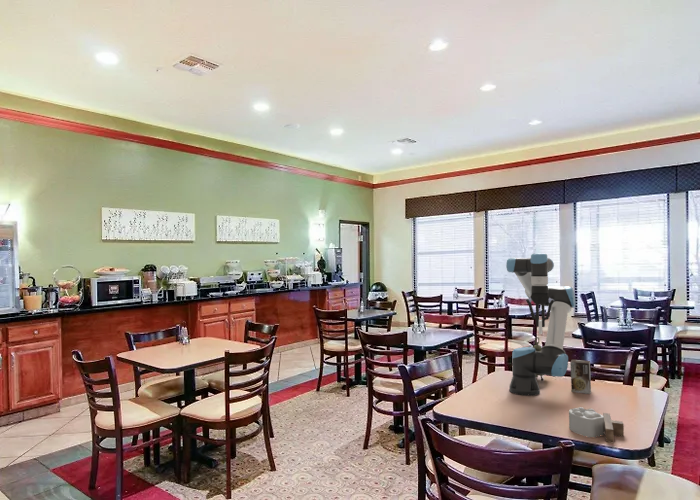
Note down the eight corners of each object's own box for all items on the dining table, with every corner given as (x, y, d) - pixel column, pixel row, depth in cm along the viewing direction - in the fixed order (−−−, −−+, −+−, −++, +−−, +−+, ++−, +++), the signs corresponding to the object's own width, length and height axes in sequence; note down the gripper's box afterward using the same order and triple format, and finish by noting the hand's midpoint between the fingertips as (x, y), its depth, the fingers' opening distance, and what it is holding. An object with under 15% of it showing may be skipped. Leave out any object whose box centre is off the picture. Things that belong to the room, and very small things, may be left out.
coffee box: (591, 391, 239) (590, 360, 239) (590, 394, 233) (589, 363, 234) (572, 388, 243) (571, 359, 244) (570, 391, 238) (570, 361, 238)
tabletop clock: (534, 376, 270) (533, 334, 271) (550, 378, 264) (549, 336, 265) (526, 381, 259) (525, 338, 260) (542, 384, 253) (542, 339, 254)
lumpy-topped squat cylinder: (589, 438, 175) (589, 416, 176) (562, 427, 187) (561, 406, 188) (608, 434, 179) (607, 412, 180) (580, 423, 191) (579, 403, 192)
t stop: (606, 441, 172) (605, 428, 172) (603, 424, 190) (603, 412, 190) (625, 444, 169) (625, 431, 169) (621, 427, 187) (620, 415, 187)
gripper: (524, 285, 218) (525, 334, 217) (553, 285, 212) (555, 335, 211) (526, 284, 224) (527, 331, 224) (554, 285, 218) (555, 333, 218)
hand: (540, 333), depth 217 cm, fingers closed
